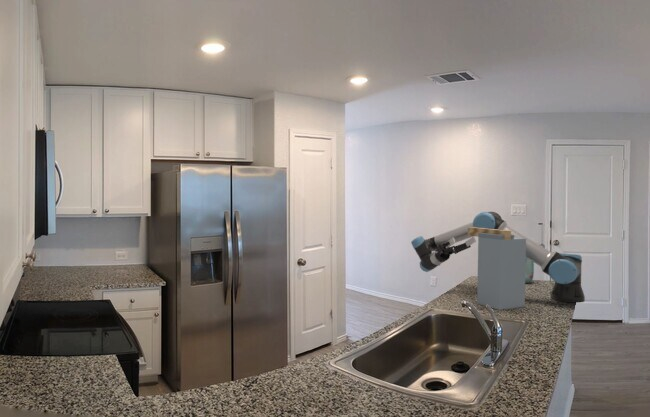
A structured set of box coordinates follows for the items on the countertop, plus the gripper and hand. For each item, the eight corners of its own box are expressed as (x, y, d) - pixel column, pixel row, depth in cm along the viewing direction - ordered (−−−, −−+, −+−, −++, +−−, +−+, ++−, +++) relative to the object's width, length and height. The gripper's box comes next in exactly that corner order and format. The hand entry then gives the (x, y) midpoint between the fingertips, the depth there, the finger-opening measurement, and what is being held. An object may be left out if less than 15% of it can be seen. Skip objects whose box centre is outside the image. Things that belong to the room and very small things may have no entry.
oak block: (468, 235, 234) (468, 227, 234) (474, 235, 236) (474, 227, 236) (504, 239, 214) (504, 230, 213) (510, 239, 215) (510, 230, 215)
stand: (477, 303, 226) (478, 233, 225) (501, 300, 233) (502, 232, 232) (499, 310, 214) (501, 235, 213) (524, 306, 221) (526, 234, 220)
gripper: (460, 261, 260) (485, 245, 243) (423, 263, 248) (447, 247, 232) (455, 248, 263) (480, 232, 246) (419, 250, 252) (442, 233, 235)
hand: (464, 239), depth 239 cm, fingers open, 13 cm apart
